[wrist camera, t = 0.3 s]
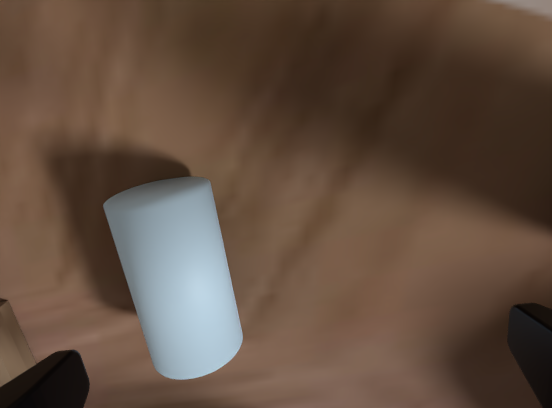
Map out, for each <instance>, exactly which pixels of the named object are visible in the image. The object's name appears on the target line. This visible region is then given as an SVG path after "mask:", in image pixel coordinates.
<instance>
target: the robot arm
mask: <svg viewBox="0 0 552 408" xmlns="http://www.w3.org/2000/svg"><path fill="white" fill-rule="evenodd" d="M507 341H508V346H509V349H510V351H511V353H512V355H513V356H514V358H515V360H516V362H517V363H518V365H519V367H520V369H521V371H522V372H523V374H524V376H525V378H526V379H527V381H528V383H529V385H530V387H531V388H532V390H533V392H534V394H535V395H536V397H537V399H538V401H539V402H540V404H541V406H542V408H552V310H551V309H549V308H546V307H544V306H541V305H539V304H536V303H524V304H515V305H513V306H512V307H511V309H510V313H509V324H508V335H507ZM89 386H90V383H89V378H88V375H87V372H86V369H85V366H84V364H83V361H82V358H81V355H80V353H79V352H78V351H76V350H65V351H57V352H55V353H53V354H51V355H50V356H48V357H47V358H45V359H44V360H42V361H40V362H39V363H37V364H36V365H34V366H33V367H31V368H29V369H28V370H26V371H25V372H23V373H22V374H20V375H18V376H17V377H15V378H14V379H12V380H11V381H9V382H7V383H6V384H4V385H3V386H1V387H0V408H83V407H84V404H85V402H86V399H87V396H88V392H89Z"/></svg>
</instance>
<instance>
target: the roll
mask: <svg viewBox="0 0 552 408" xmlns="http://www.w3.org/2000/svg"><path fill="white" fill-rule="evenodd" d="M103 208H104V211H105V214H106V217H107V220H108V223H109V227H110V230H111V233H112V236H113V239H114V242H115V245H116V249H117V252H118V255H119V258H120V261H121V264H122V267H123V271H124V274H125V277H126V280H127V283H128V286H129V289H130V293H131V296H132V299H133V302H134V305H135V308H136V311H137V315H138V318H139V321H140V324H141V327H142V330H143V333H144V337H145V340H146V343H147V346H148V349H149V352H150V356H151V359H152V362H153V365H154V367H155V369H156V370H157V371H158V372H159V373H160V374H161V375H163V376H165V377H168V378H171V379H181V380H183V379H192V378H197V377H201V376H204V375H207V374H209V373H212V372H214V371H216V370H217V369H219V368H221V367H222V366H224V365H225V364H226V363H228V362H229V361H230V360H231V359H232V358H233V357H234V356H235V354H236V353H237V352H238V350H239V348H240V346H241V344H242V339H243V334H242V329H241V325H240V320H239V315H238V311H237V306H236V301H235V296H234V292H233V287H232V282H231V278H230V273H229V268H228V263H227V259H226V254H225V249H224V244H223V240H222V235H221V230H220V226H219V221H218V216H217V211H216V207H215V202H214V197H213V193H212V188H211V183H210V181H209V180H208V179H206V178H203V177H179V178H172V179H165V180H158V181H154V182H150V183H146V184H142V185H139V186H136V187H133V188H130V189H127V190H125V191H122V192H120V193H118V194H116V195H114V196H112V197H111V198H109V199H108V200H107V201H106V202H105V203H104V205H103Z"/></svg>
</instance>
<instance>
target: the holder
mask: <svg viewBox="0 0 552 408" xmlns="http://www.w3.org/2000/svg"><path fill="white" fill-rule="evenodd" d="M34 365H36V362H35V360H34V358H33V356H32V353H31V351H30V349H29V347H28V344H27V342H26V340H25V338H24V335H23V333H22V331H21V329H20V327H19V324H18V322H17V320H16V318H15V315H14V313H13V311H12V309H11V306H10V304H9V302H8V301H1V302H0V387H1V386H3V385H4V384H6V383H7V382H9V381H11V380H12V379H14V378H15V377H17V376H18V375H20V374H22V373H23V372H25V371H26V370H28V369H29V368H31V367H33V366H34Z"/></svg>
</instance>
